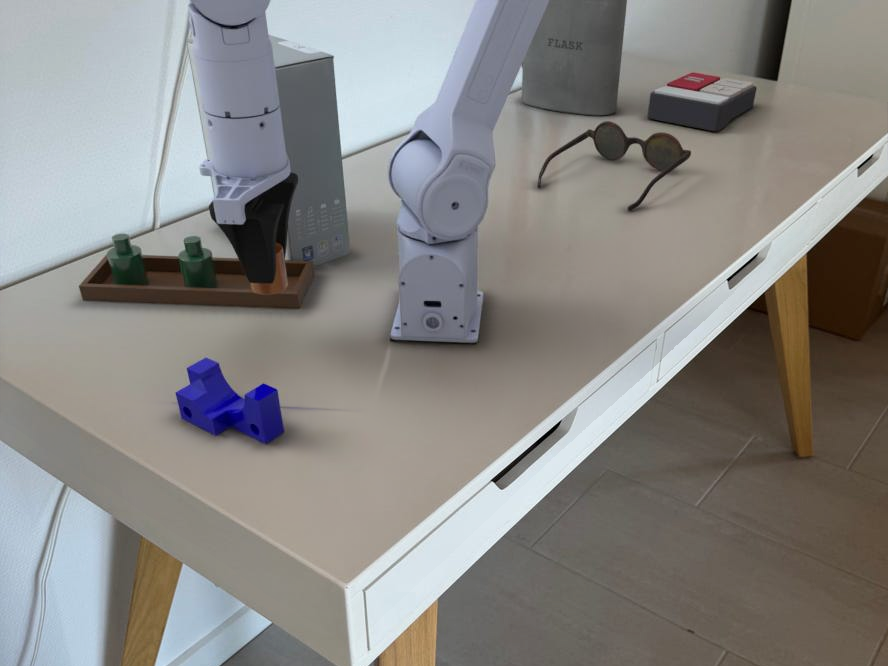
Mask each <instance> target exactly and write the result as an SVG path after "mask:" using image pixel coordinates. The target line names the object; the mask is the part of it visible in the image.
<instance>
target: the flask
mask: <svg viewBox="0 0 888 666" xmlns="http://www.w3.org/2000/svg"><path fill="white" fill-rule="evenodd" d="M627 4H628V0H549V2H548V5H547V7H546V9H545V12H544V14H543V16H542V19H541V21H540V23H539V26H538V28H537V30H536V32H535V35H534V37H533V39H532V42H531V44H530V46H529V49H528V51H527V53H526V56H525V58H524V60H523V62H522V73H521V75H522V76H521V77H522V78H521V101H522V103H523V104H525V105H527V106H530V107H533V108H537V109H542V110H547V111H552V112H557V113H566V114H573V115H582V116H594V117H596V116H609V115H612V114H615V112H616V111H617V106H618V97H619V96H618V95H619V86H620V77H621V67H622V66H621V65H622V55H623V46H624V35H625V27H626V26H625V25H626V16H627Z"/></svg>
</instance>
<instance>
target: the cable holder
mask: <svg viewBox="0 0 888 666" xmlns="http://www.w3.org/2000/svg"><path fill="white" fill-rule="evenodd" d="M186 372H187V376H188V381H189V384H188V385H186V386H184V387H182V388H181V389H179V390H177V391H175V392H174V393H175V398H176V401H177V406H178V409H179V414H180V418H181V419H182V420H183V421H186V422H188V423H190V424H192V425H193V426H196V428H197V427H198V428H200V429H201V430H203V431H205V432H207V433H209V434H211V435H213V436H218V435H219V434H221V433H223V432H224V431H226V430H227V429H229V428H231V429H233V430H236V431H238V432H240V433H242V434H244V435H246V436H248V437H250V438H252V439H254V440H256V441H258V442H260V443H262V444H265V445H267V444H268V443H270V442H271V441H273V440H275V439H276V438H278V437H279V436H280V435H282V434H284V433H285V429H284V422H283V416H282V415H283V414H282V409H281V402H280V397H279V390H278V389H277V388H276V387H273V386H271V385H268V384H266V383H264V382H263V383H261V384H259V385H258V386H257V387H255V388H253V389H251V390H249V391H248V392H247V393H245V394H243V396H244V397H242V396H241V395H239V393H237V392H236V391H235V390H234V389H233V388H232V387H231V385H230V384H229V382H228V381H227V380H226V378H225V376H224V374H223V372H222V370H221V366H220V363H219V362H218V361H216V360H213V359H211V358H208V357H204V358H202V359H201V360H198V361H197V362H195V363H193V364H190V365H189V366H188V367H186Z"/></svg>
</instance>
